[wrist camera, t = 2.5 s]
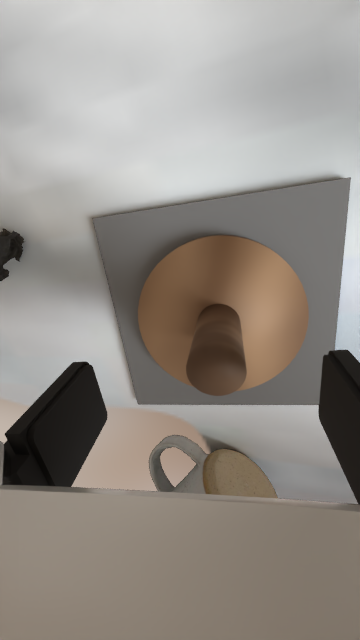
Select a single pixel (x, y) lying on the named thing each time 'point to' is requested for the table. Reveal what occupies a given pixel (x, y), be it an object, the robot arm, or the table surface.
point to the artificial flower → (9, 249)
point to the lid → (223, 314)
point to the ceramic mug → (211, 472)
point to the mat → (249, 222)
